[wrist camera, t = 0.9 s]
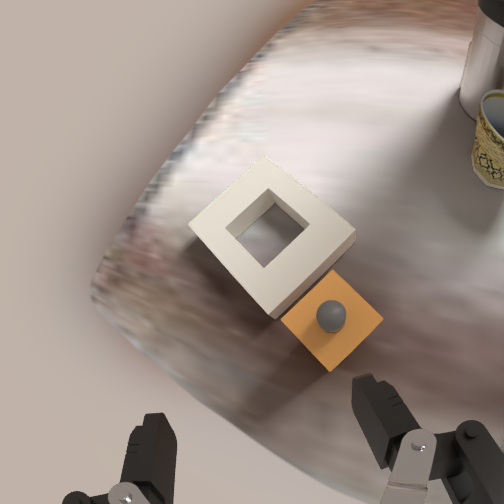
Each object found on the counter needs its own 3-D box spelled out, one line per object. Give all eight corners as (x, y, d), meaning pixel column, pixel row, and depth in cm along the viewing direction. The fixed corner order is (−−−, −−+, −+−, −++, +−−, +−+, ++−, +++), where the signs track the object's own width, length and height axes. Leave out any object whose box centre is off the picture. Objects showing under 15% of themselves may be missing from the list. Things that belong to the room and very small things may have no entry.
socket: (200, 235, 39) (187, 224, 36) (270, 171, 39) (264, 155, 36) (275, 319, 33) (268, 314, 30) (354, 242, 33) (355, 229, 30)
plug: (304, 337, 31) (273, 314, 17) (335, 307, 32) (331, 258, 17) (333, 367, 30) (329, 373, 15) (364, 337, 30) (388, 313, 15)
